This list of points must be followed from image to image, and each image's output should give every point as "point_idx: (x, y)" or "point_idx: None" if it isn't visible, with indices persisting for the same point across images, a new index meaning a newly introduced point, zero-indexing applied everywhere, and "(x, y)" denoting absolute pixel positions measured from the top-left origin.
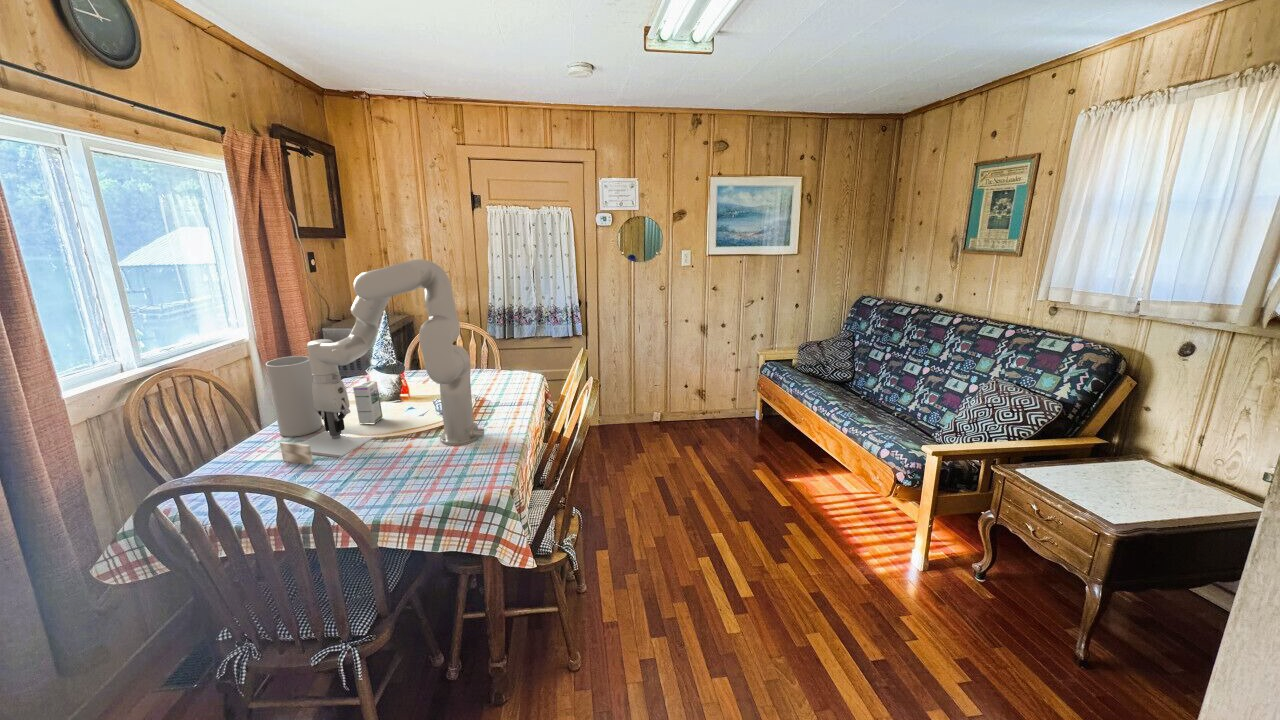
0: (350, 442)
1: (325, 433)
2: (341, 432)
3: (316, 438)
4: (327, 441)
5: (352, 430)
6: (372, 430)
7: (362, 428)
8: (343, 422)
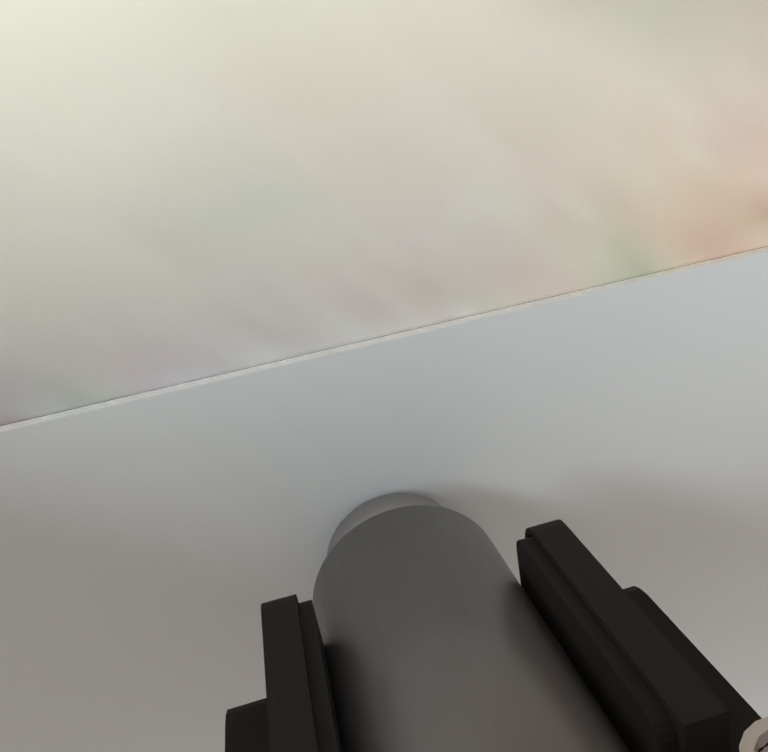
0: (723, 533)
1: (17, 543)
2: (472, 522)
3: (111, 714)
4: None
5: (320, 180)
6: (688, 7)
7: (422, 6)
8: (707, 663)
